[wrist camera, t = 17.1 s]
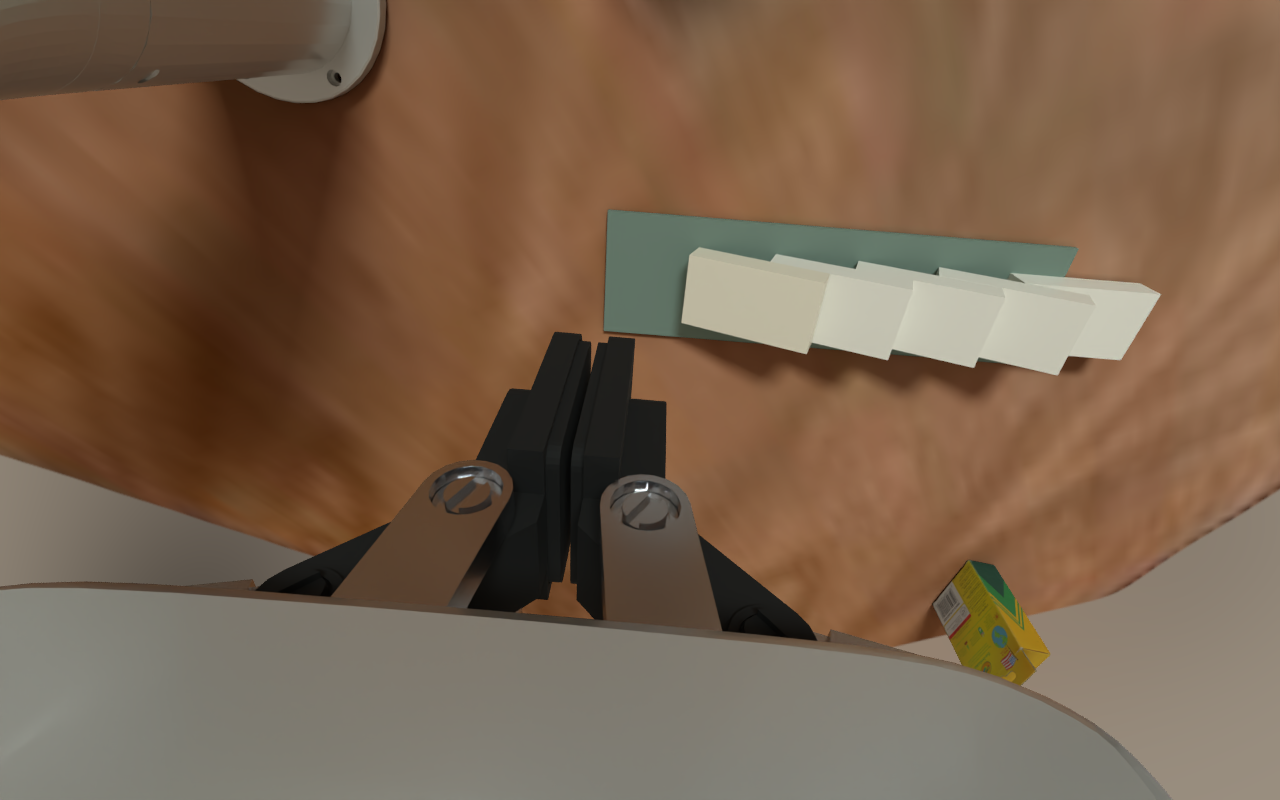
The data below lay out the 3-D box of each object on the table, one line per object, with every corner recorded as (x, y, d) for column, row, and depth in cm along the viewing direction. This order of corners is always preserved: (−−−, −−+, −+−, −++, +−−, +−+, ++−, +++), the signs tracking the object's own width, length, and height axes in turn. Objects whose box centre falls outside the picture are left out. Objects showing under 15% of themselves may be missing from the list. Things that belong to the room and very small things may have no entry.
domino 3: (836, 336, 40) (973, 367, 37) (855, 268, 37) (1005, 298, 34) (839, 325, 41) (972, 355, 39) (858, 260, 39) (1002, 287, 36)
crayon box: (956, 609, 59) (1013, 722, 49) (930, 604, 58) (982, 717, 49) (996, 563, 55) (1067, 677, 45) (968, 557, 55) (1033, 670, 45)
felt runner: (604, 328, 43) (603, 330, 43) (608, 209, 38) (607, 211, 38) (1017, 362, 43) (1020, 364, 42) (1074, 247, 38) (1078, 249, 38)
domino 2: (756, 329, 40) (888, 360, 37) (770, 262, 37) (912, 289, 34) (762, 319, 41) (889, 348, 39) (776, 253, 39) (913, 279, 36)
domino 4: (914, 342, 40) (1057, 375, 37) (939, 275, 37) (1096, 305, 34) (914, 331, 41) (1052, 362, 39) (939, 267, 39) (1089, 295, 36)
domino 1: (681, 322, 40) (806, 354, 37) (689, 254, 37) (825, 283, 34) (690, 313, 41) (811, 342, 39) (699, 247, 39) (830, 273, 36)
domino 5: (994, 349, 40) (1120, 360, 40) (1025, 283, 37) (1161, 294, 37) (981, 337, 41) (1102, 347, 41) (1010, 272, 39) (1139, 283, 39)
